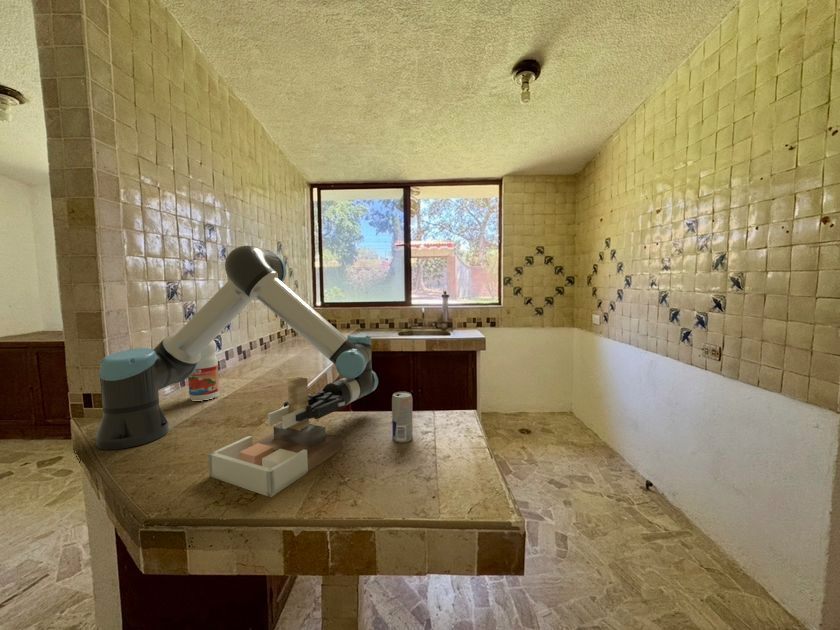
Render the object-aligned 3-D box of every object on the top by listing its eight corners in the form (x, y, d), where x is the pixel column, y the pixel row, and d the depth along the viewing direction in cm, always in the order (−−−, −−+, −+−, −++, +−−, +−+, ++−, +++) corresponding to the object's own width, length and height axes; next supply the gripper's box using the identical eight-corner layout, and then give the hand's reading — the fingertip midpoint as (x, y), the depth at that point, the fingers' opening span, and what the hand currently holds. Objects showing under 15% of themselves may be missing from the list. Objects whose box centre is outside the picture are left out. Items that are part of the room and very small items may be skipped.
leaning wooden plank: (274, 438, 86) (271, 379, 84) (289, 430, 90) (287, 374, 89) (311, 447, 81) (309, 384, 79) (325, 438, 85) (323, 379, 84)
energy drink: (399, 432, 96) (399, 390, 95) (416, 437, 93) (416, 393, 92) (388, 440, 91) (387, 395, 90) (405, 444, 88) (405, 399, 88)
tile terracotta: (239, 465, 77) (238, 452, 77) (258, 455, 82) (257, 443, 81) (255, 469, 75) (254, 456, 75) (273, 459, 79) (273, 446, 79)
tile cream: (262, 471, 74) (261, 458, 74) (280, 461, 79) (280, 448, 78) (279, 477, 72) (279, 463, 72) (297, 465, 77) (296, 452, 76)
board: (250, 456, 83) (249, 443, 83) (288, 436, 94) (287, 425, 94) (307, 472, 75) (307, 458, 75) (342, 449, 86) (341, 437, 86)
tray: (209, 476, 74) (208, 454, 74) (250, 456, 83) (249, 435, 83) (270, 497, 66) (269, 472, 66) (307, 472, 75) (307, 450, 75)
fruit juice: (224, 393, 133) (220, 321, 131) (211, 401, 123) (207, 323, 121) (198, 394, 132) (194, 321, 130) (183, 402, 123) (179, 324, 120)
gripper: (365, 409, 96) (305, 444, 75) (318, 401, 103) (250, 431, 82) (364, 383, 96) (304, 410, 75) (317, 377, 103) (249, 400, 82)
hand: (276, 421), depth 79 cm, fingers open, 4 cm apart
